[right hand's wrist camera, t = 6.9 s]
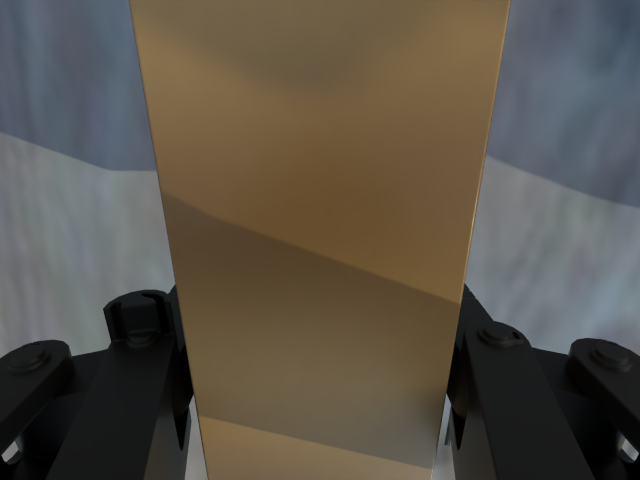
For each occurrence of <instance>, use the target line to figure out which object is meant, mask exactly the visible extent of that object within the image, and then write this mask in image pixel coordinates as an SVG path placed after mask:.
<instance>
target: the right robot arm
mask: <svg viewBox="0 0 640 480" xmlns="http://www.w3.org/2000/svg"><path fill="white" fill-rule="evenodd" d="M103 311H104V315H105V319H106V323H107V327H108V330H109V334H110V338H111V343H110V346H109V348H108V349H106V350H102V351H97V352H92V353H87V354H82V355H77V356H72V355H71V352H70V349H69V345H67V344H66V343H65V342H63V341H58V340H45V341H37V342H33V343H29V344H26V345H23V346H22V347H20V348H18V349H15V350H13V351H11V352H9V353H8V354H6V355H5V356H3V357H2V358H0V480H185V471H186V463H187V454H188V446H189V437H190V429H191V416H190V410H189V404H190V401H191V399H192V397H193V394H194V392H193V386H192V380H191V374H190V368H189V361H188V355H187V349H186V343H185V337H184V331H183V325H182V319H181V313H180V307H179V301H178V295H177V289H176V284H175V285H174V287H173V288H172V289H171V291H170V293H168V294H167V293H165V292H163V291H159V290H141V291H135V292H131V293H128V294H125V295H122V296H119V297H117V298H116V299H114V300H112V301H111V302H109V303H108V304H107V305H106V306H105V307H104V308H103ZM446 393H447V395H448V398H449V400H450V403H451V410H450V415H449V421H448V427H447V432H446V438H445V445H448V446H450V440H451V445H452V453H453V462H454V471H455V479H456V480H640V356H638V355H637V354H635V353H634V352H632V351H631V350H629V349H627V348H624V347H622V346H620V345H618V344H616V343H614V342H610V341H609V342H608V341H607V340H602V339H592V338H584V339H577V340H576V341H575V342H573V343H572V344H571V348H570V351H569V354H568V355H566V354H561V353H556V352H551V351H546V350H541V349H537V348H533V347H531V345H530V343H529V341H528V340H527V338H526V337H525V336H524V335H523V334H522V333H521V332H519V331H518V330H516V329H515V328H513V327H511V326H509V325H506V324H504V323H501V322H496V321H493V320H492V318H491V317H490V316H489V314H488V313H487V312H486V310H485V309H484V308H483V306H482V305H481V304H480V303H479V301H478V300H477V299H475V296H474V295H473V293H472V292H471V291H469V288H468V287H467V286H466V284H465V283H464V289H463V295H462V301H461V307H460V313H459V319H458V325H457V331H456V337H455V343H454V349H453V355H452V361H451V367H450V373H449V379H448V385H447V392H446ZM625 439H627V440H628V441H629V443H630V444H631V445H632V446H633V447H634V448H635V449H636V450H637V451H638V453H639V455H638V457H637V459H636V460H635V461H634V460H632V459H631V458H630V457H629V456H628V455H627V454H626V453H625V451H624V450H623V449H622V446H623V443H624V441H625ZM14 441H15V442H16V444H17V447H18V449H19V450H18V451H17V452H16V453H15V455H14V456H13V457H12V458H10V459H9V460H8V461H7V462H5V461H4V460H3V458H2V454H3V453H4V452H5V451H6V449H7V448H8V447H9V446H10V445H11V444H12V443H13V442H14Z"/></svg>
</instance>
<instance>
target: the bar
mask: <svg viewBox="0 0 640 480" xmlns="http://www.w3.org/2000/svg"><path fill="white" fill-rule="evenodd" d="M129 4H130V10H131V16H132V22H133V28H134V34H135V40H136V46H137V53H138V59H139V65H140V71H141V77H142V83H143V89H144V95H145V101H146V107H147V113H148V119H149V125H150V131H151V137H152V143H153V149H154V156H155V162H156V168H157V174H158V180H159V186H160V192H161V198H162V204H163V210H164V216H165V222H166V228H167V234H168V240H169V246H170V252H171V258H172V265H173V271H174V277H175V283H176V289H177V295H178V301H179V307H180V313H181V319H182V325H183V331H184V337H185V343H186V349H187V355H188V361H189V368H190V374H191V380H192V386H193V392H194V398H195V404H196V410H197V416H198V422H199V428H200V434H201V440H202V446H203V452H204V458H205V464H206V470H207V477H208V480H432V476H433V470H434V464H435V458H436V452H437V446H438V440H439V434H440V428H441V422H442V416H443V410H444V404H445V398H446V392H447V385H448V379H449V373H450V367H451V361H452V355H453V349H454V343H455V337H456V331H457V325H458V319H459V313H460V307H461V301H462V295H463V289H464V283H465V277H466V270H467V264H468V258H469V252H470V246H471V240H472V234H473V228H474V222H475V216H476V210H477V204H478V198H479V192H480V186H481V180H482V174H483V168H484V162H485V155H486V149H487V143H488V137H489V131H490V125H491V119H492V113H493V107H494V101H495V95H496V89H497V83H498V77H499V71H500V65H501V59H502V53H503V47H504V40H505V34H506V28H507V22H508V16H509V10H510V4H511V0H129Z"/></svg>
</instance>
